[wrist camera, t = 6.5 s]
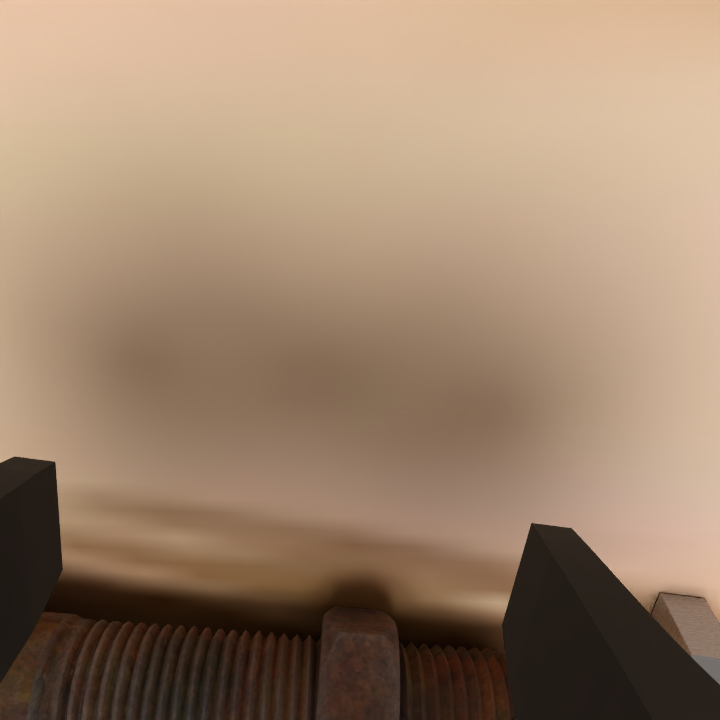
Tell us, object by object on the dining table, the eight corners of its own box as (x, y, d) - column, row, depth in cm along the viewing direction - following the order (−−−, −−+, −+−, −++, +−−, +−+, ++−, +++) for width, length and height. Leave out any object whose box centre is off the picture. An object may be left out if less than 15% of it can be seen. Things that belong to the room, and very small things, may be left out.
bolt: (495, 625, 21) (8, 589, 20) (544, 573, 17) (-63, 527, 16) (510, 856, 17) (-74, 821, 17) (576, 862, 13) (-191, 816, 13)
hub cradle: (607, 815, 21) (637, 917, 19) (-64, 735, 21) (-126, 828, 18) (704, 598, 18) (758, 690, 15) (-111, 495, 17) (-198, 571, 15)
